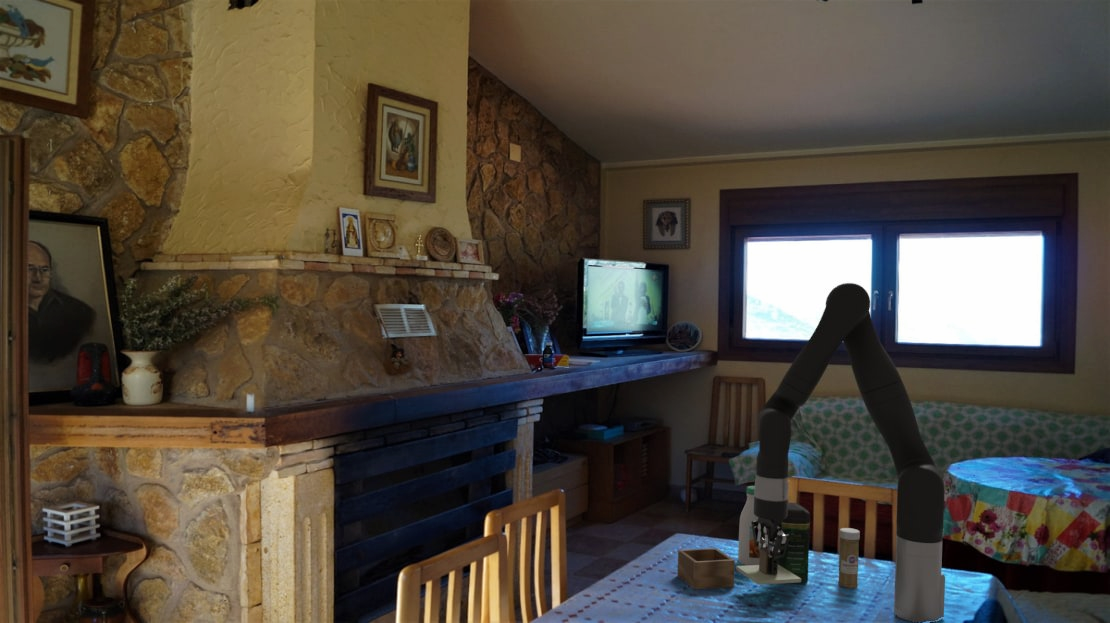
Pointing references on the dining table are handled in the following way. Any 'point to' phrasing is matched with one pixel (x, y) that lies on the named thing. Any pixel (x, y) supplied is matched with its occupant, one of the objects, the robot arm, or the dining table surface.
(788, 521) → the coffee jar
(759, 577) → the lid
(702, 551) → the box
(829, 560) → the dining table surface
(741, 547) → the milk bottle
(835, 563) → the dining table surface
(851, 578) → the sprinkles bottle
